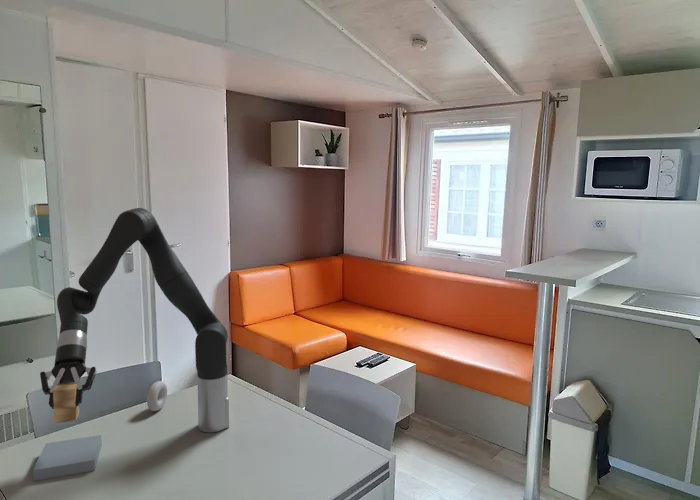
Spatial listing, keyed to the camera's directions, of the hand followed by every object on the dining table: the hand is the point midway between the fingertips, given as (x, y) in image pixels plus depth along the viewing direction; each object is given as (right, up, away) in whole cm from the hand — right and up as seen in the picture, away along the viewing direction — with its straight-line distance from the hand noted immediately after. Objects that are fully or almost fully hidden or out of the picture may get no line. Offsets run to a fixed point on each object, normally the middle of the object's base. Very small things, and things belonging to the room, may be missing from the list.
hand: (65, 406), depth 127 cm
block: (-1, -4, +2) cm, 5 cm away
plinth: (-1, -17, +4) cm, 17 cm away
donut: (+10, -13, +36) cm, 39 cm away
